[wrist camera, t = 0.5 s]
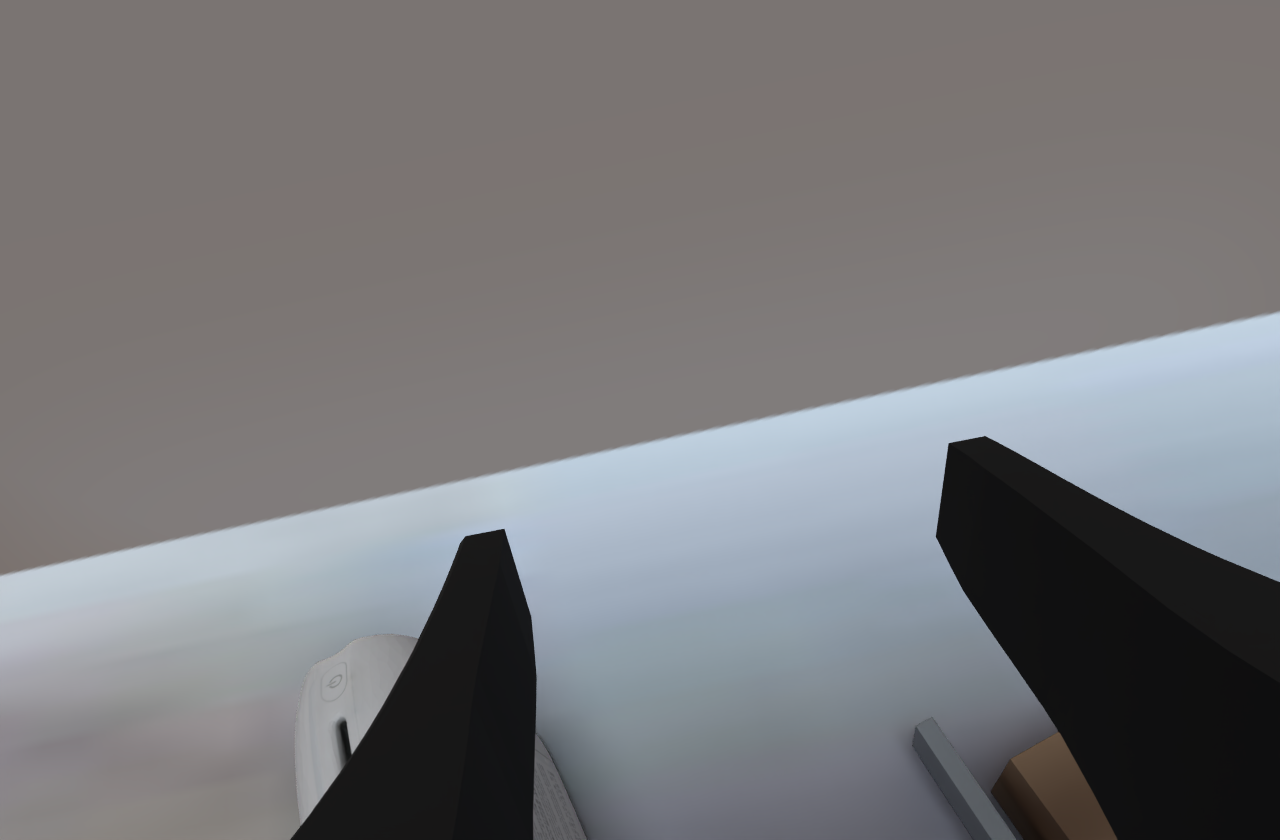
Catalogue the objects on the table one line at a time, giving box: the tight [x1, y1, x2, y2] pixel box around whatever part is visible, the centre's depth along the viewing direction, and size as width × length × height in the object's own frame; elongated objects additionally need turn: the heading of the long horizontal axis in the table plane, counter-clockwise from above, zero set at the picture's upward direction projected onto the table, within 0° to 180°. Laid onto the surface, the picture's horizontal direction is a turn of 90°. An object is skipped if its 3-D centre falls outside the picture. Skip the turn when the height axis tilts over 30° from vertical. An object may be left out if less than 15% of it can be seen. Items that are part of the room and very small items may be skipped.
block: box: [991, 732, 1117, 840], centre depth 22 cm, size 4×4×4 cm
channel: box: [912, 717, 1017, 840], centre depth 22 cm, size 10×7×2 cm
